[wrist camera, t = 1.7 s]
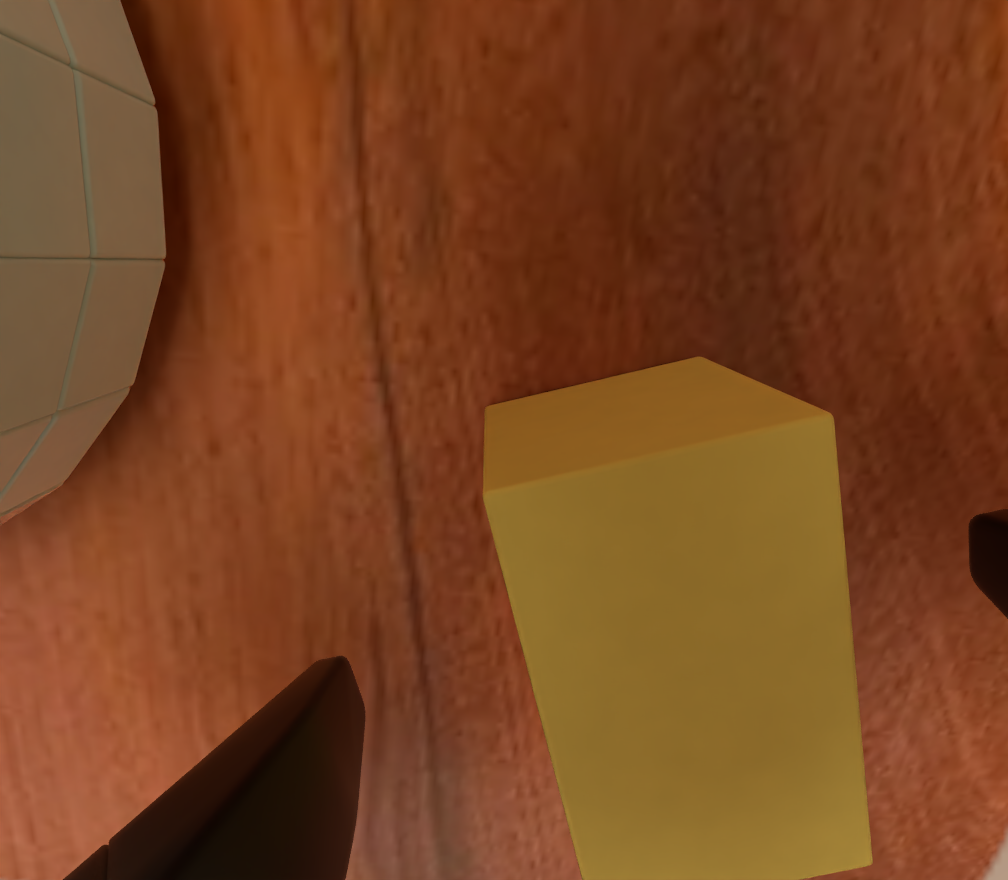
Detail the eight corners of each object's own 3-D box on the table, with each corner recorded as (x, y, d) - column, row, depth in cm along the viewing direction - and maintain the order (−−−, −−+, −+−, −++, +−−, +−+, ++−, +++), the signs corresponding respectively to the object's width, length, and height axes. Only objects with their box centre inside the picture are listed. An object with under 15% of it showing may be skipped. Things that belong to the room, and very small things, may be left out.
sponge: (747, 666, 12) (875, 867, 8) (558, 707, 12) (592, 924, 8) (701, 355, 10) (837, 412, 6) (483, 405, 10) (481, 493, 6)
